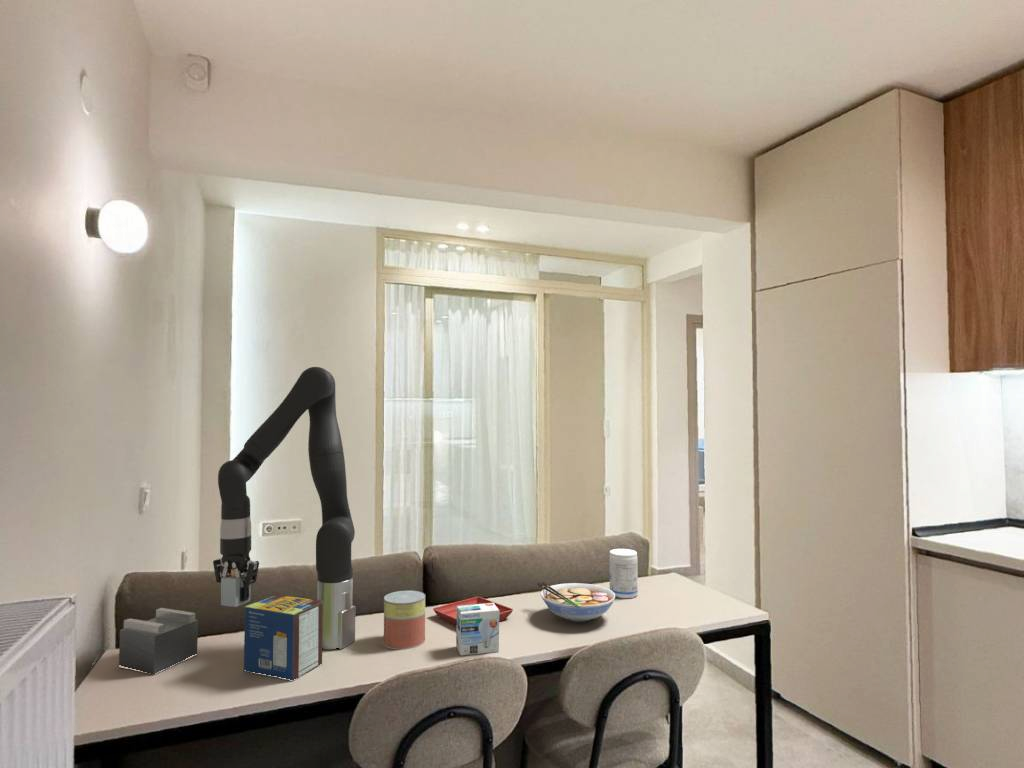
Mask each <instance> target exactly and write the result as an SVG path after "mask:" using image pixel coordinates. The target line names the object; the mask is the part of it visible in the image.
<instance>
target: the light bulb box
mask: <svg viewBox="0 0 1024 768" xmlns="http://www.w3.org/2000/svg"><path fill="white" fill-rule="evenodd" d="M455 628H456V629H455V630H456V635H455V636H456V638H455V639H456V640H455V647H456V648H457V651H458V653H459V656H469V655H480V654H481V655H482V654H491V653H499V652H500V621H499V609H498V608H497V607H496V605H495V604H494V603H485V604H474V605H463V606H457V625H456V627H455Z"/></svg>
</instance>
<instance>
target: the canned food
mask: <svg viewBox="0 0 1024 768" xmlns="http://www.w3.org/2000/svg"><path fill="white" fill-rule="evenodd" d="M425 641H426V593H424V592H423V591H419V590H411V589H410V590H397V591H393V592H389V593H388V594H387V593H386V594H385V595H384V596H383V643H384V644H383V646H385V647H386V648H388V647H389V648H388V649H391V648H392V650H409V649H414V648H417V647H420V646H422V645H424V644H425Z"/></svg>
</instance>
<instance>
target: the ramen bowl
mask: <svg viewBox="0 0 1024 768" xmlns="http://www.w3.org/2000/svg"><path fill="white" fill-rule="evenodd" d="M536 585H537V586H538V587H540V588H542V590H541V591H540V596H541V599H542V600H543V602H544V603H545V605H546V606H547V608H548V609H549V610H550V611H551V613H553V614H555V615H556V616H558V617H560V618H562V619H565V620H567V621H569V622H573V623H585V621H586V622H588V621H590V620H594V619H598V618H599V617H601V616H602V615H604V614H605V613H607V612H608V610H609V609H610V608H611V607H612V605H613V603H614V601H615V599H616V597H615V593H614V592H613V591H611V590H610V588H607V587H605V586H602V585H596V584H591V583H582V582H581V583H580V582H579V583H578V582H568V583H559V584H558V583H557V584H553V585H549V584H547V583H546V582H544V581H542V582H541V583H540V582H536Z"/></svg>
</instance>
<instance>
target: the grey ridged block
mask: <svg viewBox="0 0 1024 768" xmlns="http://www.w3.org/2000/svg"><path fill="white" fill-rule="evenodd" d="M198 638H199V619H196V612H190V611H184V610H179V609H178V610H177V609H172V608H166V607H159V608H157V609H155V617H154V618H151V619H148V620H141V619H135V618H126V619H124V620H123V628H122V629H119V647H118V648H119V649H118V650H119V653H118V666H119V665H121V666H124V667H128V668H132V669H136V670H140V671H143V672H147V673H151V674H155V673H157V672H159V671H161V670H163V669H166V668H168V667H170V666H172V665H174V664H176V663H178V662H181V661H183V660H185V659H186V658H188V657H190V656H192V655H195V654H197V655H198V642H199V641H198ZM168 669H169V668H168ZM166 670H167V669H166ZM159 673H160V672H159ZM151 674H150V675H151ZM157 674H158V673H157ZM155 675H156V674H155Z"/></svg>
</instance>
